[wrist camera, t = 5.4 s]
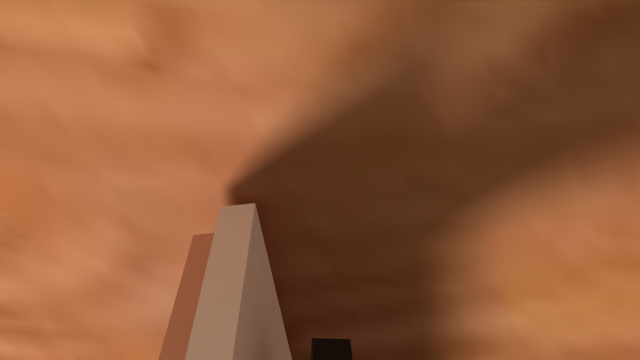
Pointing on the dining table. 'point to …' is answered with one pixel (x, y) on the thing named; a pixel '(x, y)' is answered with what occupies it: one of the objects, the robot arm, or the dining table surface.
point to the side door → (227, 296)
